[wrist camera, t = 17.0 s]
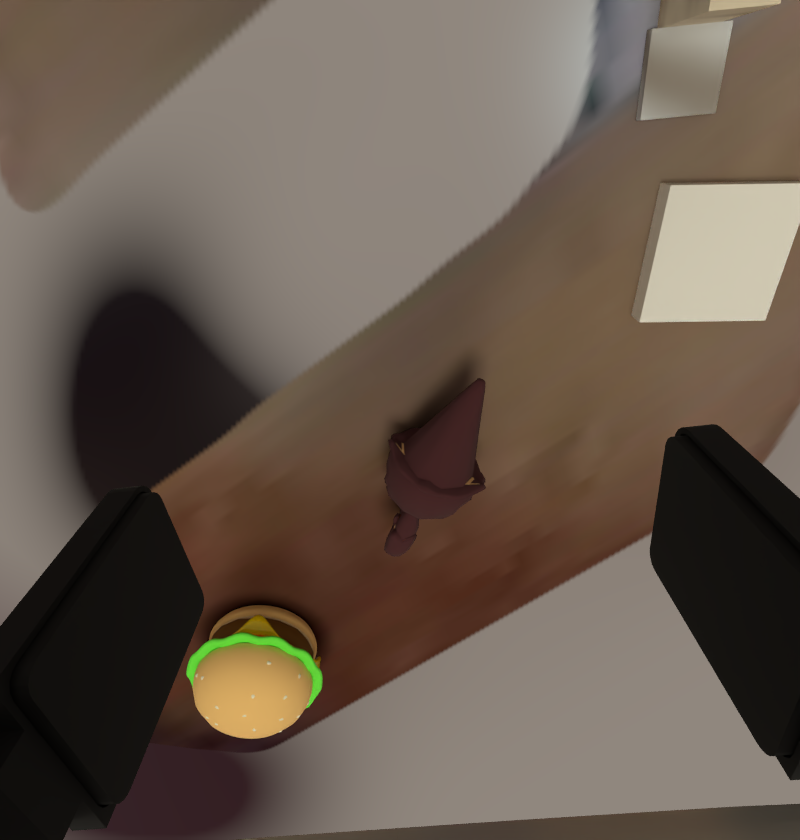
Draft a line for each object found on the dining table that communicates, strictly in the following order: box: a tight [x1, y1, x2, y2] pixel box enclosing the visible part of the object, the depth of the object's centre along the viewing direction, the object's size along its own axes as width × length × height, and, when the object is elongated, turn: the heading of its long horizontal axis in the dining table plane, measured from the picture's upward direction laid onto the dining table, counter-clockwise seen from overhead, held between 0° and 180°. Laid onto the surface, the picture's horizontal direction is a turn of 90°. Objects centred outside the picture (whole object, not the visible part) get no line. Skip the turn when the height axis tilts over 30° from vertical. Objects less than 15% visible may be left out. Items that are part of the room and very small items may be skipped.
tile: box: [631, 181, 800, 322], centre depth 32 cm, size 2×8×8 cm
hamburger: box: [186, 605, 322, 739], centre depth 46 cm, size 12×12×9 cm
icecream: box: [384, 378, 486, 556], centre depth 36 cm, size 7×7×15 cm
